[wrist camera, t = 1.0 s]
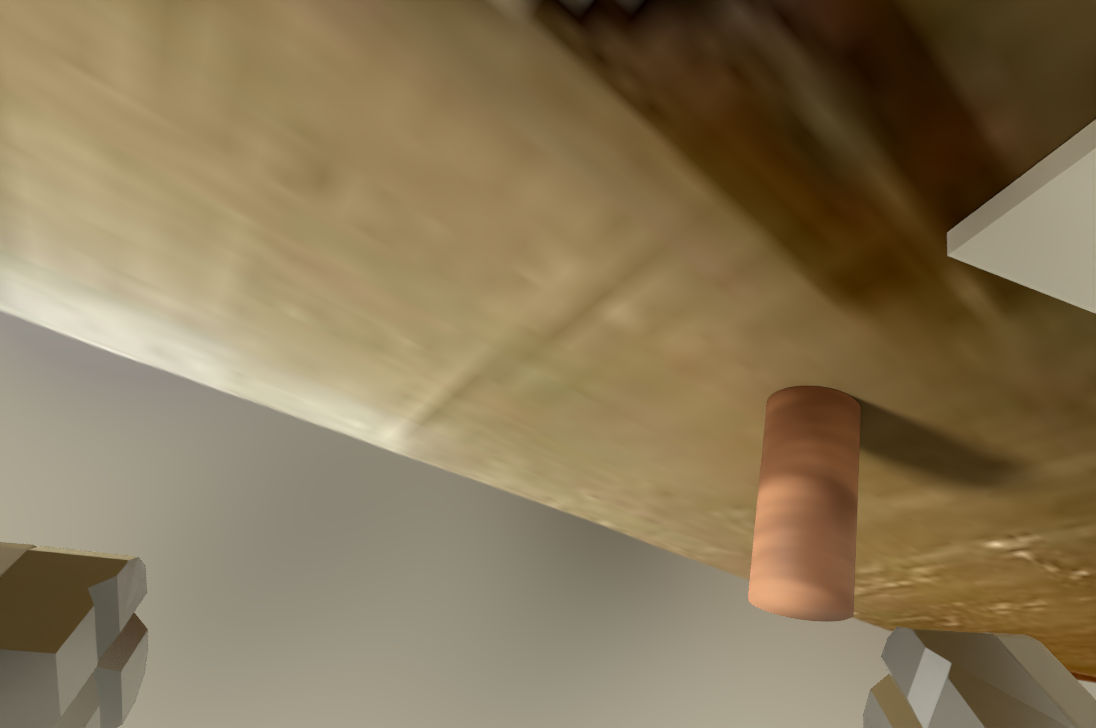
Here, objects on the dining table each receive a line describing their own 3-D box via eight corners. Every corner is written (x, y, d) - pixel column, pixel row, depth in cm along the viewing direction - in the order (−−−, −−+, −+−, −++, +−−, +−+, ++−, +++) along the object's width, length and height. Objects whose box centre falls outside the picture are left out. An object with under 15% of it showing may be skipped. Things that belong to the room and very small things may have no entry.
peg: (762, 420, 43) (743, 608, 39) (772, 380, 40) (753, 584, 35) (850, 433, 43) (842, 627, 38) (870, 393, 39) (863, 604, 34)
